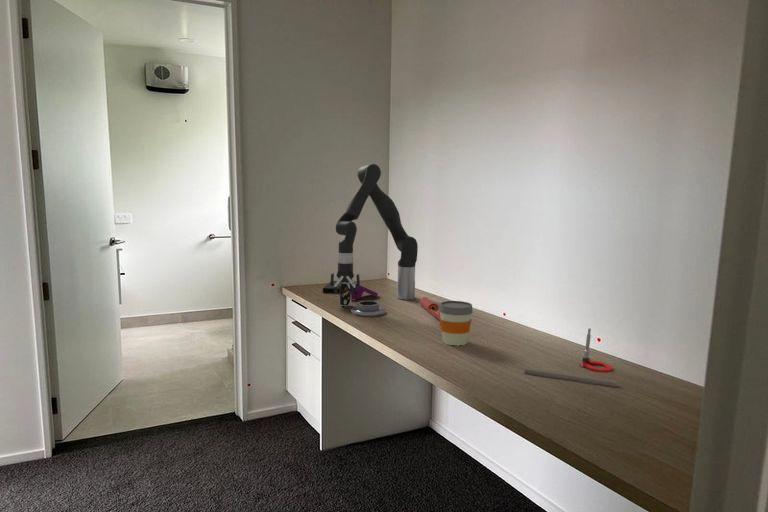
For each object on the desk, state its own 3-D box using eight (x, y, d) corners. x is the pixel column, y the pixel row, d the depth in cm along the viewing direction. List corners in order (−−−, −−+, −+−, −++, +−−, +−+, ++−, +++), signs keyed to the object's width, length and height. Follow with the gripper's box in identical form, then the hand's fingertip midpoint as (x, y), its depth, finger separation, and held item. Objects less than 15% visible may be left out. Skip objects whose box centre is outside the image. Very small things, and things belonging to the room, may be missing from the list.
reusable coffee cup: (460, 336, 207) (462, 299, 205) (477, 345, 196) (479, 306, 194) (432, 339, 203) (433, 301, 201) (447, 348, 191) (449, 309, 189)
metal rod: (525, 373, 169) (525, 367, 168) (616, 386, 158) (616, 380, 158) (524, 375, 167) (524, 369, 167) (616, 388, 157) (617, 382, 156)
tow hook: (615, 369, 174) (587, 361, 180) (620, 332, 172) (592, 325, 178) (606, 375, 168) (577, 367, 174) (610, 337, 166) (582, 330, 172)
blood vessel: (458, 329, 219) (459, 317, 219) (447, 329, 218) (447, 318, 217) (429, 306, 260) (429, 296, 259) (419, 306, 259) (419, 297, 258)
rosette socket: (385, 309, 251) (385, 299, 251) (384, 317, 236) (384, 307, 235) (352, 308, 252) (352, 299, 251) (349, 316, 236) (349, 306, 236)
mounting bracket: (367, 305, 285) (339, 293, 277) (373, 291, 285) (346, 279, 277) (374, 309, 276) (346, 297, 268) (380, 294, 277) (352, 282, 269)
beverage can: (353, 306, 256) (353, 282, 255) (345, 308, 252) (345, 283, 250) (345, 304, 260) (345, 280, 258) (337, 306, 256) (337, 282, 254)
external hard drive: (322, 293, 287) (322, 288, 287) (331, 285, 310) (331, 280, 310) (348, 294, 286) (348, 289, 285) (354, 286, 309) (354, 281, 308)
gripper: (360, 261, 257) (360, 293, 259) (332, 260, 257) (331, 292, 259) (359, 263, 249) (358, 296, 251) (329, 262, 250) (329, 295, 252)
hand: (345, 294), depth 255 cm, fingers open, 8 cm apart
